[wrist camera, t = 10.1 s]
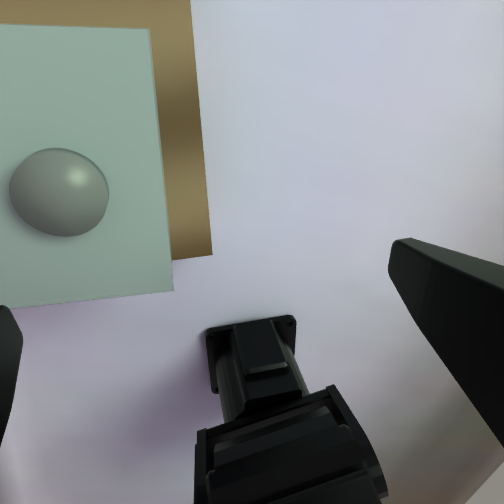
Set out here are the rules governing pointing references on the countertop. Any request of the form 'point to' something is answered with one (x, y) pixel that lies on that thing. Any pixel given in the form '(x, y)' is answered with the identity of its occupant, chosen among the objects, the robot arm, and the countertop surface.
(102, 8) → the walnut stand
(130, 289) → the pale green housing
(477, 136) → the countertop surface
